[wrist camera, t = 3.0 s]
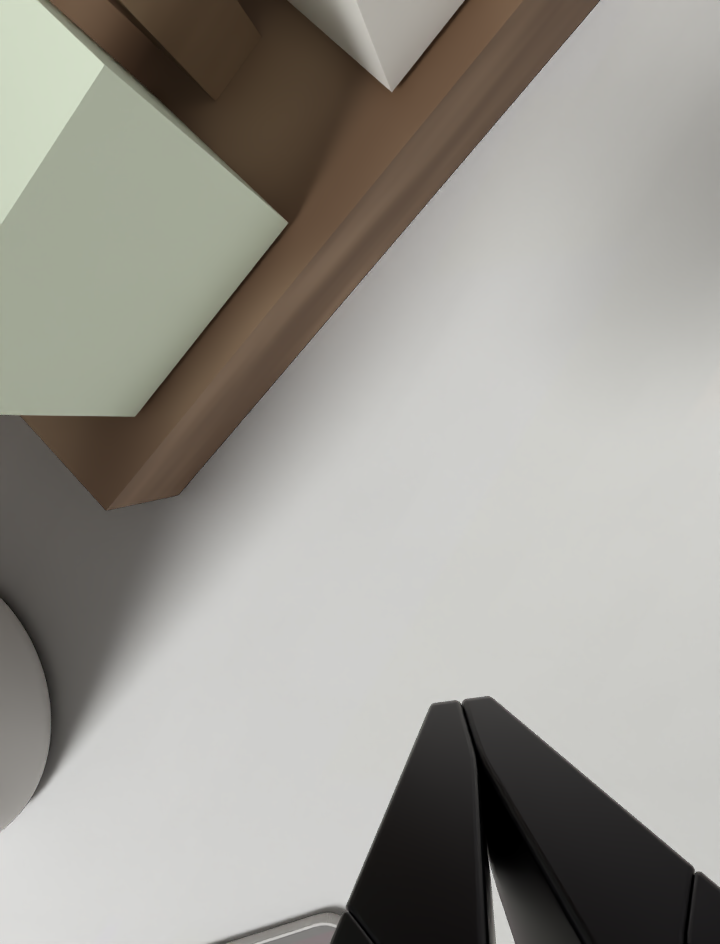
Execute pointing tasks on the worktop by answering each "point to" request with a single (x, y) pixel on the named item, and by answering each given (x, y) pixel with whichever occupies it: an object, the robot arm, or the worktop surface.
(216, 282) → the light green block
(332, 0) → the plain key
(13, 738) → the cylinder vase
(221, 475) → the worktop surface
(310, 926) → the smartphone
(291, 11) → the wooden desk organizer
